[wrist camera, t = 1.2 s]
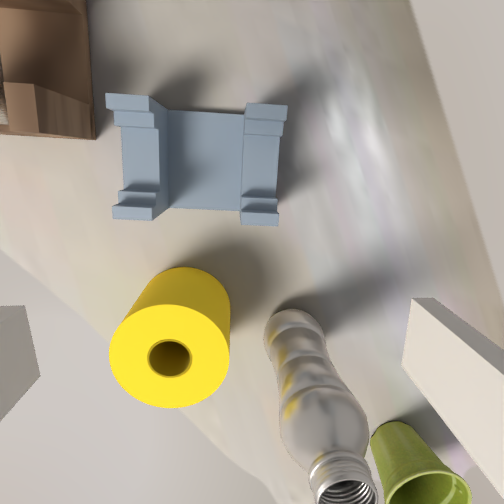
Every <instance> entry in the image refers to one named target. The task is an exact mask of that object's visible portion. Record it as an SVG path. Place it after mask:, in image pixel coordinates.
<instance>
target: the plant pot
mask: <svg viewBox="0 0 504 504" xmlns="http://www.w3.org/2000/svg"><path fill="white" fill-rule="evenodd" d="M370 446H371V450H372V453H373V456H374V460H375V463H376V466H377V469H378V473H379V476H380V479H381V483H382V486H383V490H384V499H385V504H471V501H472V493H471V490H470V487H469V486H468V484H467V483H466V482H465V480H464V479H463V478H462V477H460V476H459V475H457V474H456V473H454V472H453V471H452V470H451V469H450V468H448V467H447V466H446V465H444V464H443V463H442V462H441V460H440V459H439V458H438V457H437V456H436V455H435V453H434V452H433V451H432V450H431V449H430V448H429V447H428V445H427V444H426V443H425V442H424V441H423V440H422V438H421V437H420V436H419V435H418V434H417V433H416V431H415V430H414V429H413V428H412V427H411V426H410V425H407V424H404V423H402V422H399V421H394V422H389V423H386V424H383V425H382V426H380V427H379V428H378V429H377V430H376V432H375V434H374V435H373V436H372V437H371V440H370Z"/></svg>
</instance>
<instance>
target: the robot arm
mask: <svg viewBox="0 0 504 504" xmlns="http://www.w3.org/2000/svg"><path fill="white" fill-rule="evenodd" d="M401 366H402V367H403V369H404V370H405V371H406V373H407V374H408V375H409V377H410V378H411V379H412V380H413V382H414V383H415V384H416V386H417V387H418V388H419V390H420V391H421V392H422V393H423V395H424V396H425V397H426V399H427V400H428V401H429V403H430V404H431V405H432V407H433V408H434V409H435V410H436V412H437V413H438V414H439V416H440V417H441V418H442V420H443V421H444V422H445V423H446V425H447V426H448V427H449V429H450V430H451V431H452V433H453V434H454V435H455V436H456V438H457V439H458V440H459V442H460V443H461V444H462V446H463V447H464V448H465V450H466V451H467V452H468V453H469V455H470V456H471V457H472V459H473V460H474V461H475V463H476V464H477V465H478V466H479V468H480V469H481V470H482V472H483V473H484V474H485V476H486V477H487V478H488V479H489V481H490V482H491V483H492V485H493V486H494V487H495V488H496V490H497V491H498V492H499V494H500V495H501V496H502V498H503V499H504V350H503V349H501V348H500V347H499V346H497V345H496V344H495V343H493V342H492V341H491V340H489V339H488V338H487V337H485V336H484V335H483V334H481V333H480V332H479V331H477V330H476V329H475V328H473V327H472V326H470V325H469V324H468V323H466V322H465V321H464V320H462V319H461V318H460V317H458V316H457V315H456V314H454V313H453V312H452V311H450V310H449V309H448V308H446V307H445V306H444V305H442V304H441V303H440V302H438V301H437V300H436V299H434V298H412V300H411V307H410V313H409V320H408V326H407V333H406V339H405V346H404V352H403V359H402V365H401ZM39 377H40V372H39V367H38V363H37V358H36V354H35V349H34V345H33V340H32V336H31V331H30V327H29V322H28V318H27V313H26V309H25V306H0V421H1V420H2V419H3V418H4V417H5V416H6V414H7V413H8V412H9V411H10V410H11V409H12V408H13V407H14V405H15V404H16V403H17V402H18V401H19V400H20V398H21V397H22V396H23V395H24V394H25V393H26V392H27V391H28V389H29V388H30V387H31V386H32V385H33V384H34V383H35V381H36V380H37V379H38V378H39Z"/></svg>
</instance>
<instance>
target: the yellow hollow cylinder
mask: <svg viewBox="0 0 504 504" xmlns="http://www.w3.org/2000/svg"><path fill="white" fill-rule="evenodd" d="M229 347H230V301H229V297H228V295H227V292H226V290H225V289H224V287H223V286H222V284H221V283H220V282H219V281H218V280H217V279H216V278H214V277H213V276H212V275H210V274H209V273H207V272H205V271H202V270H200V269H196V268H191V267H177V268H172V269H169V270H166V271H164V272H162V273H160V274H158V275H157V276H155V277H154V278H153V279H152V280H151V281H150V282H149V283H148V285H147V286H146V287H145V289H144V290H143V292H142V293H141V295H140V296H139V298H138V299H137V301H136V302H135V303H134V305H133V306H132V308H131V309H130V311H129V312H128V314H127V315H126V317H125V318H124V320H123V321H122V322H121V324H120V325H119V327H118V328H117V330H116V331H115V333H114V335H113V337H112V340H111V343H110V348H109V361H110V366H111V369H112V372H113V374H114V376H115V378H116V380H117V381H118V383H119V384H120V385H121V386H122V388H123V389H124V390H126V391H127V392H128V393H129V394H130V395H132V396H133V397H135V398H136V399H138V400H140V401H142V402H144V403H147V404H149V405H153V406H157V407H164V408H179V407H185V406H189V405H193V404H195V403H198V402H200V401H202V400H204V399H205V398H207V397H208V396H210V395H211V394H212V393H213V392H214V391H215V390H216V389H217V388H218V387H219V386H220V385H221V383H222V382H223V380H224V378H225V376H226V373H227V370H228V366H229Z"/></svg>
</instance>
